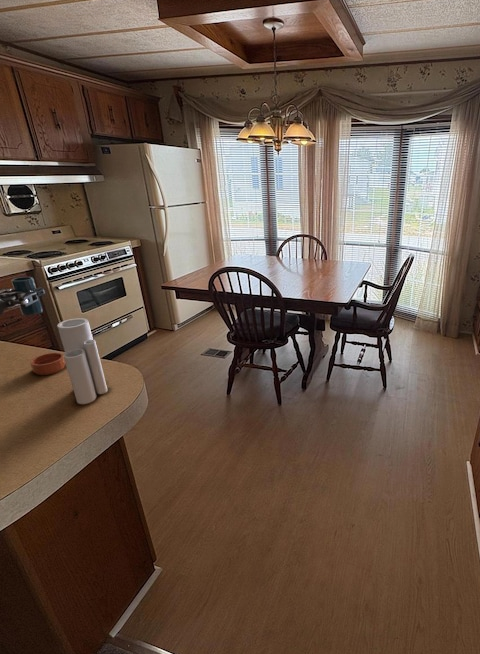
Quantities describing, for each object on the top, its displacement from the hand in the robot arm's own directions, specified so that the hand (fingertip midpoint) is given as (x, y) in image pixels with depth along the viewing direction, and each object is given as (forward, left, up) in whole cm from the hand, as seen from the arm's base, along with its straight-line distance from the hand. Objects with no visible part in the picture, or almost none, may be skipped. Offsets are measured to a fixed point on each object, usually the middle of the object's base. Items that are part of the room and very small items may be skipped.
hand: (34, 290), depth 98 cm
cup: (-1, -2, -6) cm, 7 cm away
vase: (+13, -20, -25) cm, 35 cm away
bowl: (-1, -2, -25) cm, 25 cm away
